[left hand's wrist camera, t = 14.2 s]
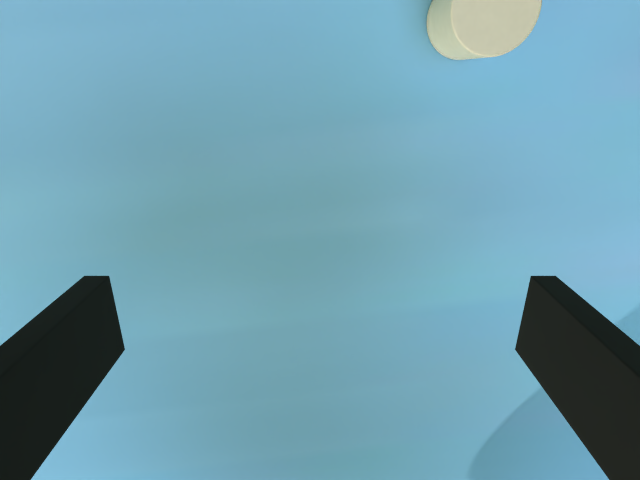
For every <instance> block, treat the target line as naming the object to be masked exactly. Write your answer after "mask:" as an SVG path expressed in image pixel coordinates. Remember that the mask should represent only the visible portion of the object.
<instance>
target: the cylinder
mask: <svg viewBox="0 0 640 480" xmlns="http://www.w3.org/2000/svg"><path fill="white" fill-rule="evenodd" d="M541 5H542V0H433V1H432V3H431V5H430V8H429V11H428V15H427V32H428V36H429V39H430V41H431V43H432V45H433V46H434V48H435V49H436V50H437V51H438V52H439V53H440V54H442V55H443V56H445V57H447V58H450V59H454V60H465V59H475V58H486V57H495V56H499V55H503V54H505V53H508V52H510V51H511V50H513V49H515V48H516V47H517V46H519V45H520V44H521V43H522V42H523V41H524V40H525V39H526V38H527V37H528V35H529V34H530V33H531V31H532V29H533V28H534V26H535V24H536V22H537V19H538V17H539V14H540V10H541Z"/></svg>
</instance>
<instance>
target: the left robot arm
mask: <svg viewBox="0 0 640 480" xmlns="http://www.w3.org/2000/svg"><path fill="white" fill-rule="evenodd" d="M124 350H125V348H124V343H123V339H122V334H121V329H120V325H119V320H118V315H117V311H116V306H115V301H114V297H113V292H112V287H111V283H110V278H109V276H84V277H83V278H81V279H80V280H79V281H78V282H77V283H75V284H74V285H73V286H72V287H71V288H69V289H68V290H67V291H66V292H65V293H63V294H62V295H61V296H60V297H59V298H57V299H56V300H55V301H54V302H53V303H51V304H50V305H49V306H48V307H47V308H45V309H44V310H43V311H42V312H41V313H39V314H38V315H37V316H36V317H34V318H33V319H32V320H31V321H30V322H28V323H27V324H26V325H25V326H24V327H22V328H21V329H20V330H19V331H18V332H16V333H15V334H14V335H13V336H12V337H10V338H9V339H8V340H7V341H6V342H4V343H3V344H2V345H1V346H0V480H31V478H32V477H33V476H34V474H35V473H36V471H37V470H38V469H39V467H40V466H41V465H42V463H43V462H44V460H45V459H46V458H47V456H48V455H49V454H50V452H51V451H52V449H53V448H54V447H55V445H56V444H57V442H58V441H59V440H60V438H61V437H62V436H63V434H64V433H65V431H66V430H67V429H68V427H69V426H70V425H71V423H72V422H73V420H74V419H75V418H76V416H77V415H78V413H79V412H80V411H81V409H82V408H83V407H84V405H85V404H86V402H87V401H88V400H89V398H90V397H91V396H92V394H93V393H94V391H95V390H96V389H97V387H98V386H99V384H100V383H101V382H102V380H103V379H104V378H105V376H106V375H107V373H108V372H109V371H110V369H111V368H112V367H113V365H114V364H115V362H116V361H117V360H118V358H119V357H120V355H121V354H122V353H123V351H124ZM515 350H516V351H517V353H518V354H519V355H520V357H521V358H522V360H523V361H524V362H525V364H526V365H527V367H528V368H529V369H530V371H531V372H532V373H533V375H534V376H535V378H536V379H537V380H538V382H539V383H540V384H541V386H542V387H543V389H544V390H545V391H546V393H547V394H548V396H549V397H550V398H551V400H552V401H553V402H554V404H555V405H556V407H557V408H558V409H559V411H560V412H561V413H562V415H563V416H564V418H565V419H566V420H567V422H568V423H569V425H570V426H571V427H572V429H573V430H574V431H575V433H576V434H577V436H578V437H579V438H580V440H581V441H582V442H583V444H584V445H585V447H586V448H587V449H588V451H589V452H590V454H591V455H592V456H593V458H594V459H595V460H596V462H597V463H598V465H599V466H600V467H601V469H602V470H603V471H604V473H605V474H606V476H607V477H608V478H609V480H640V346H639V345H638V344H637V343H636V342H634V341H633V340H632V339H631V338H630V337H628V336H627V335H626V334H625V333H624V332H622V331H621V330H620V329H619V328H618V327H616V326H615V325H614V324H613V323H612V322H610V321H609V320H608V319H607V318H605V317H604V316H603V315H602V314H601V313H599V312H598V311H597V310H596V309H595V308H593V307H592V306H591V305H590V304H589V303H587V302H586V301H585V300H584V299H583V298H581V297H580V296H579V295H578V294H577V293H575V292H574V291H573V290H572V289H571V288H569V287H568V286H567V285H566V284H565V283H563V282H562V281H561V280H560V279H559V278H557V277H556V276H531V278H530V283H529V287H528V292H527V297H526V301H525V306H524V311H523V315H522V320H521V325H520V329H519V334H518V339H517V343H516V348H515Z"/></svg>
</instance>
